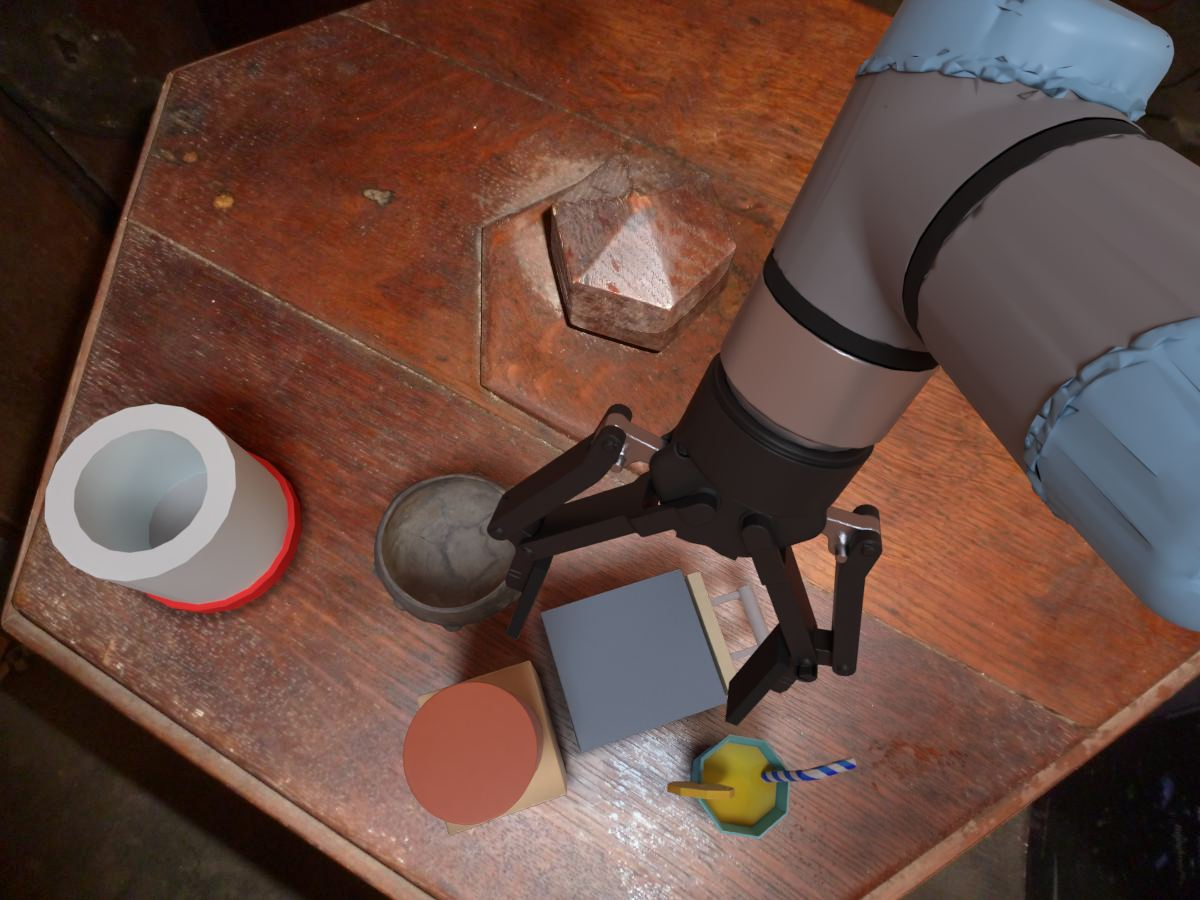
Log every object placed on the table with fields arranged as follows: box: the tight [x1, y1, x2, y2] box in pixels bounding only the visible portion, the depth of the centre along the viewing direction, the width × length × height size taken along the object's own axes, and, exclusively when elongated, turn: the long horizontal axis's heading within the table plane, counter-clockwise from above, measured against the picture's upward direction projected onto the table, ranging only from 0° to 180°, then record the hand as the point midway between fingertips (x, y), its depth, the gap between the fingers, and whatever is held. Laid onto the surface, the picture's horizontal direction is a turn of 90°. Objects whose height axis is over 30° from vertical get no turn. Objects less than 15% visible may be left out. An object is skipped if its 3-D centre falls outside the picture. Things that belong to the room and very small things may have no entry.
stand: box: [416, 660, 568, 836], centre depth 61 cm, size 9×8×20 cm
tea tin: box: [402, 681, 543, 825], centre depth 46 cm, size 7×7×12 cm
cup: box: [666, 734, 857, 840], centre depth 63 cm, size 14×8×15 cm, turn 104°
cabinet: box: [540, 567, 727, 754], centre depth 69 cm, size 13×12×10 cm
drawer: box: [684, 570, 771, 695], centre depth 69 cm, size 16×10×8 cm, turn 108°
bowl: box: [371, 471, 522, 633], centre depth 71 cm, size 14×15×10 cm
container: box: [44, 403, 303, 615], centre depth 69 cm, size 16×16×15 cm
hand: (625, 662), depth 45 cm, fingers open, 13 cm apart
